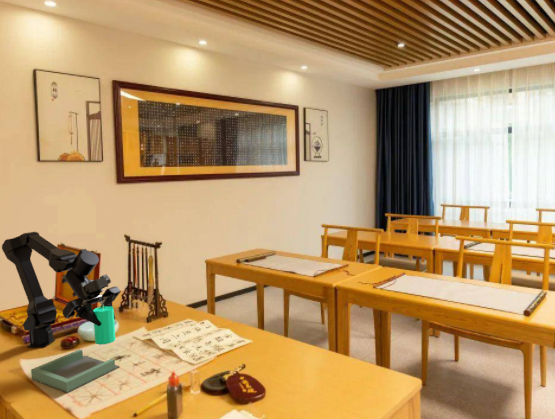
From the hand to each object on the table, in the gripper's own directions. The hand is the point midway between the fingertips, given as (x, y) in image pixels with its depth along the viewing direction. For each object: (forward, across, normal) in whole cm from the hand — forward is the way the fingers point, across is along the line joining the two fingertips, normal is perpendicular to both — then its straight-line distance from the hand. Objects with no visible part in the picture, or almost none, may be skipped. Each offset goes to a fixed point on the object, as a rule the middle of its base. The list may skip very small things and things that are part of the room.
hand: (107, 322), depth 136 cm
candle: (+4, 0, +6) cm, 7 cm away
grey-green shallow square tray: (+7, -11, +10) cm, 16 cm away
